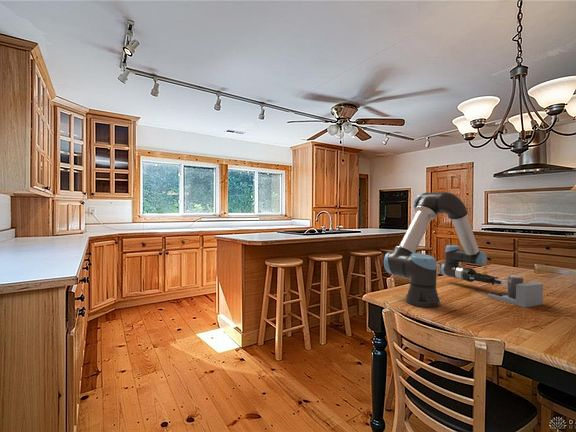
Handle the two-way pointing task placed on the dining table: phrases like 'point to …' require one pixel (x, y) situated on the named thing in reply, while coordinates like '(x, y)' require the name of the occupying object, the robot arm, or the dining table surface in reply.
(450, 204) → the robot arm
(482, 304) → the dining table surface
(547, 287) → the dining table surface
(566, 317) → the dining table surface
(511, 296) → the knob
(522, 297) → the mount
